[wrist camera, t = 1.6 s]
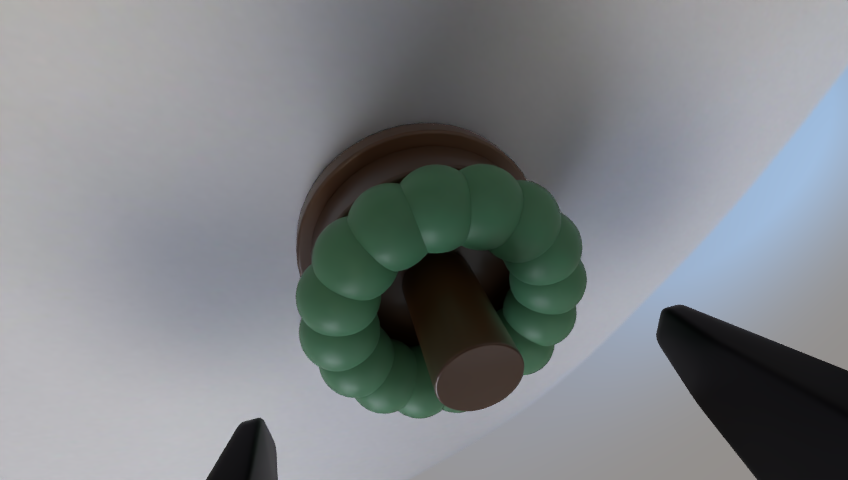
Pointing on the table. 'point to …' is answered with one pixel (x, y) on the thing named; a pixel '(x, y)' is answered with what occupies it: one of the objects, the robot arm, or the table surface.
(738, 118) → the table surface
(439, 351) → the stand
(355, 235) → the ring
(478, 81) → the table surface
